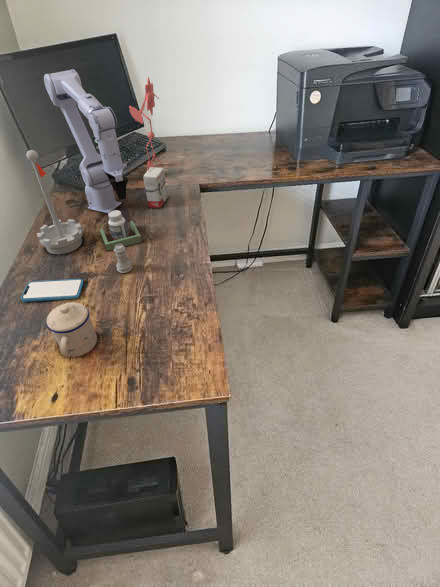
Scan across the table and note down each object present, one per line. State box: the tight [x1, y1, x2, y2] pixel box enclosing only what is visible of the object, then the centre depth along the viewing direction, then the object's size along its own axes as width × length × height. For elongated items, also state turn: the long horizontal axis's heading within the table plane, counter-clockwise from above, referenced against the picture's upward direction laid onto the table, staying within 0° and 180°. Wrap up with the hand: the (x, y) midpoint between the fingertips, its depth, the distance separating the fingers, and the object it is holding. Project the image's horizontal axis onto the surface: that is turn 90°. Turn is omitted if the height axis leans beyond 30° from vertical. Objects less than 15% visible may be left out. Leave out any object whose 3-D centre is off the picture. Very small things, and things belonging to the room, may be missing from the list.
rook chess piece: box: [113, 244, 133, 274], centre depth 108 cm, size 4×4×8 cm
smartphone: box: [20, 278, 84, 303], centre depth 104 cm, size 8×1×15 cm
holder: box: [99, 220, 143, 252], centre depth 123 cm, size 10×11×2 cm
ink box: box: [142, 166, 168, 209], centre depth 137 cm, size 9×5×12 cm, turn 168°
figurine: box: [128, 76, 182, 183], centre depth 150 cm, size 15×26×35 cm, turn 177°
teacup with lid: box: [46, 301, 98, 358], centre depth 85 cm, size 12×9×12 cm
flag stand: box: [25, 149, 84, 255], centre depth 112 cm, size 13×13×30 cm
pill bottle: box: [107, 209, 130, 241], centre depth 121 cm, size 5×5×9 cm
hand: (119, 194), depth 124 cm, fingers open, 7 cm apart
